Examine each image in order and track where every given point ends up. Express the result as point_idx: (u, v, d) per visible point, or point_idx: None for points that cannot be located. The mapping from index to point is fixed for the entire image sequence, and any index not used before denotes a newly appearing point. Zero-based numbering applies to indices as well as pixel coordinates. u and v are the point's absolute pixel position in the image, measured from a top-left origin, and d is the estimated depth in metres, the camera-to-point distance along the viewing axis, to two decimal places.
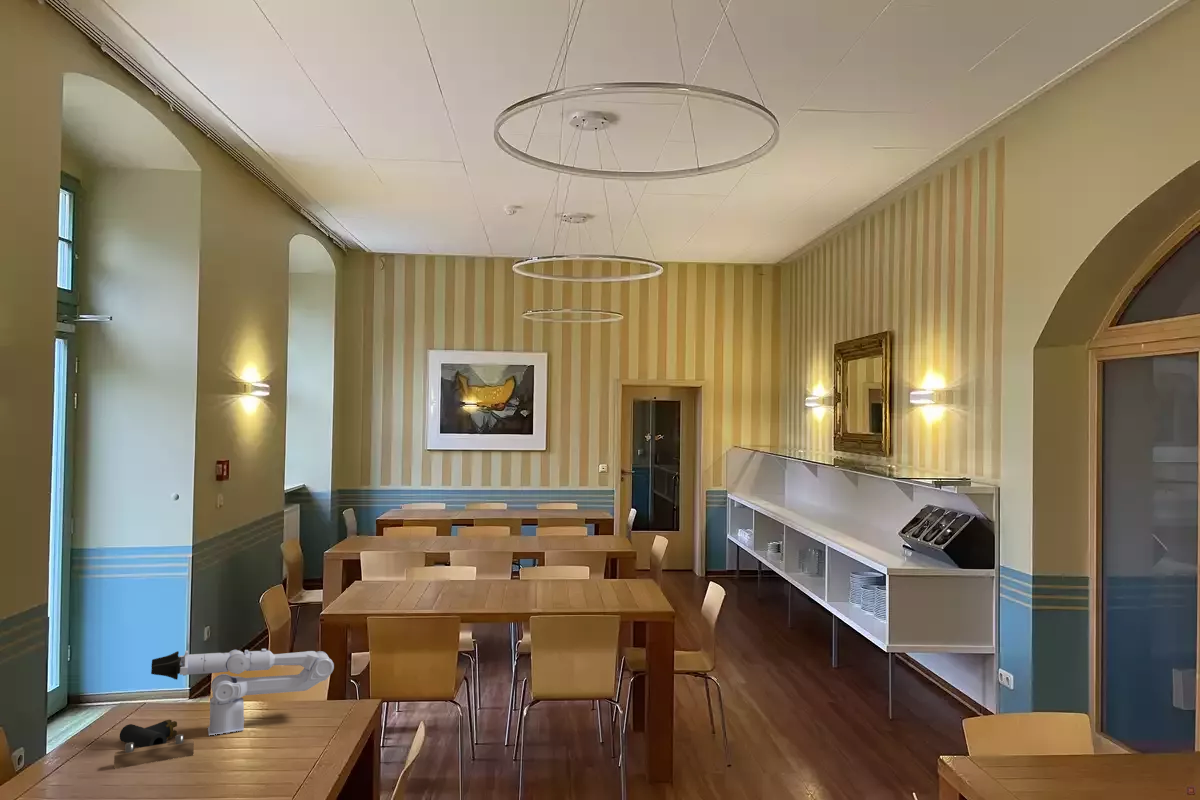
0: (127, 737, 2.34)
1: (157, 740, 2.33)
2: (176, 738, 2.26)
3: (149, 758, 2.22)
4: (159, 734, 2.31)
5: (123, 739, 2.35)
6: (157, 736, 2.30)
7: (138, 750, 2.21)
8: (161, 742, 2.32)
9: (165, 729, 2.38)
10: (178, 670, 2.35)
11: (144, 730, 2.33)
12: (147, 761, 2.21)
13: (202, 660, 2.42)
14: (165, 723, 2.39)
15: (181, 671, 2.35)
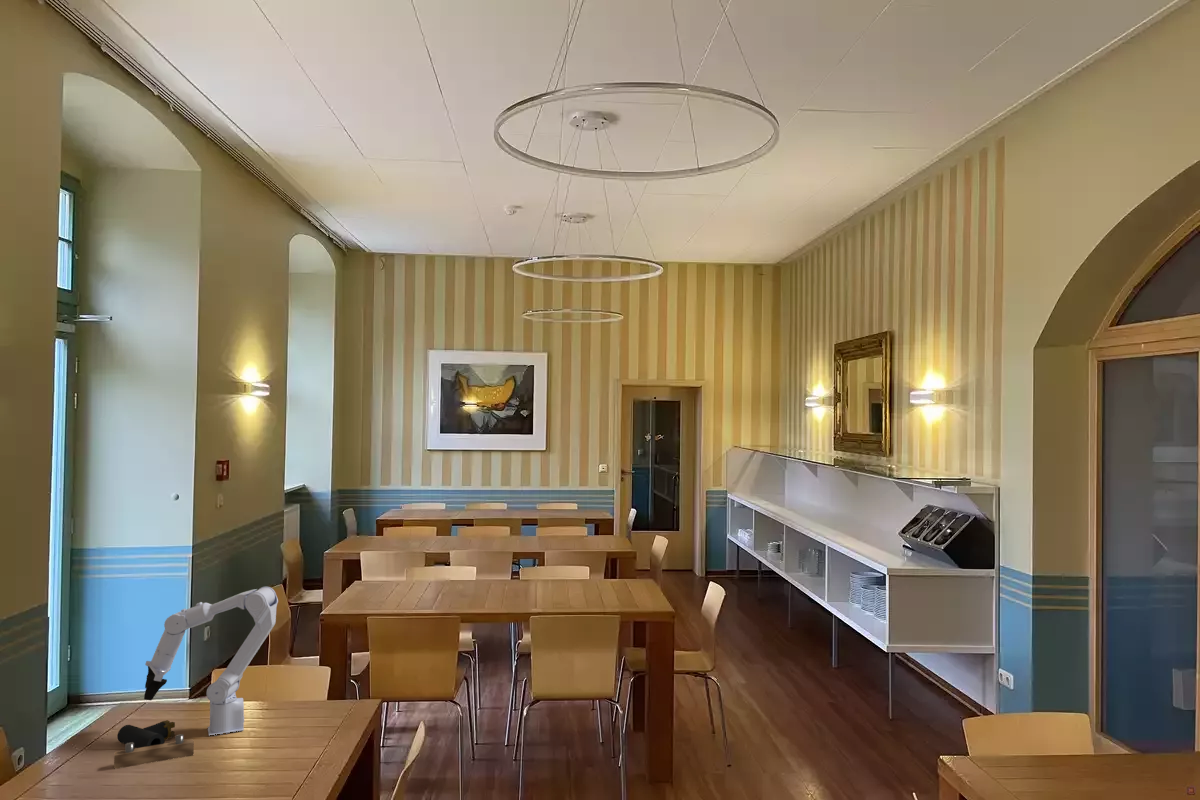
0: (125, 738, 2.33)
1: (155, 741, 2.32)
2: (176, 738, 2.26)
3: (149, 758, 2.22)
4: (156, 735, 2.30)
5: (121, 740, 2.34)
6: (154, 737, 2.30)
7: (138, 750, 2.21)
8: (159, 743, 2.31)
9: (163, 730, 2.37)
10: None
11: (141, 730, 2.33)
12: (147, 761, 2.21)
13: (160, 654, 2.43)
14: (163, 724, 2.38)
15: (158, 679, 2.39)
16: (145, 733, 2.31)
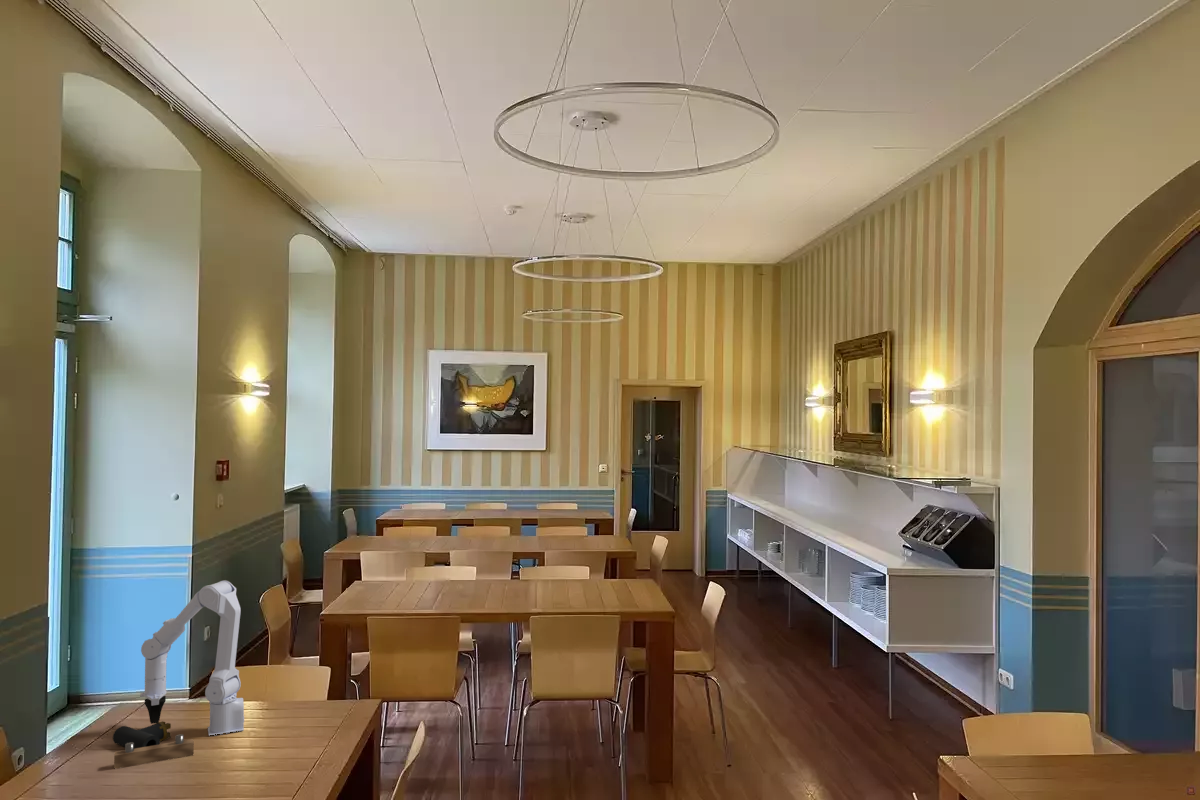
0: (120, 739, 2.32)
1: (150, 742, 2.31)
2: (176, 738, 2.26)
3: (149, 758, 2.22)
4: (152, 736, 2.29)
5: (116, 741, 2.33)
6: (150, 738, 2.29)
7: (138, 750, 2.21)
8: (154, 744, 2.30)
9: (158, 731, 2.36)
10: None
11: (137, 732, 2.32)
12: (147, 761, 2.21)
13: (149, 681, 2.45)
14: (159, 725, 2.37)
15: (155, 703, 2.42)
16: (140, 734, 2.30)
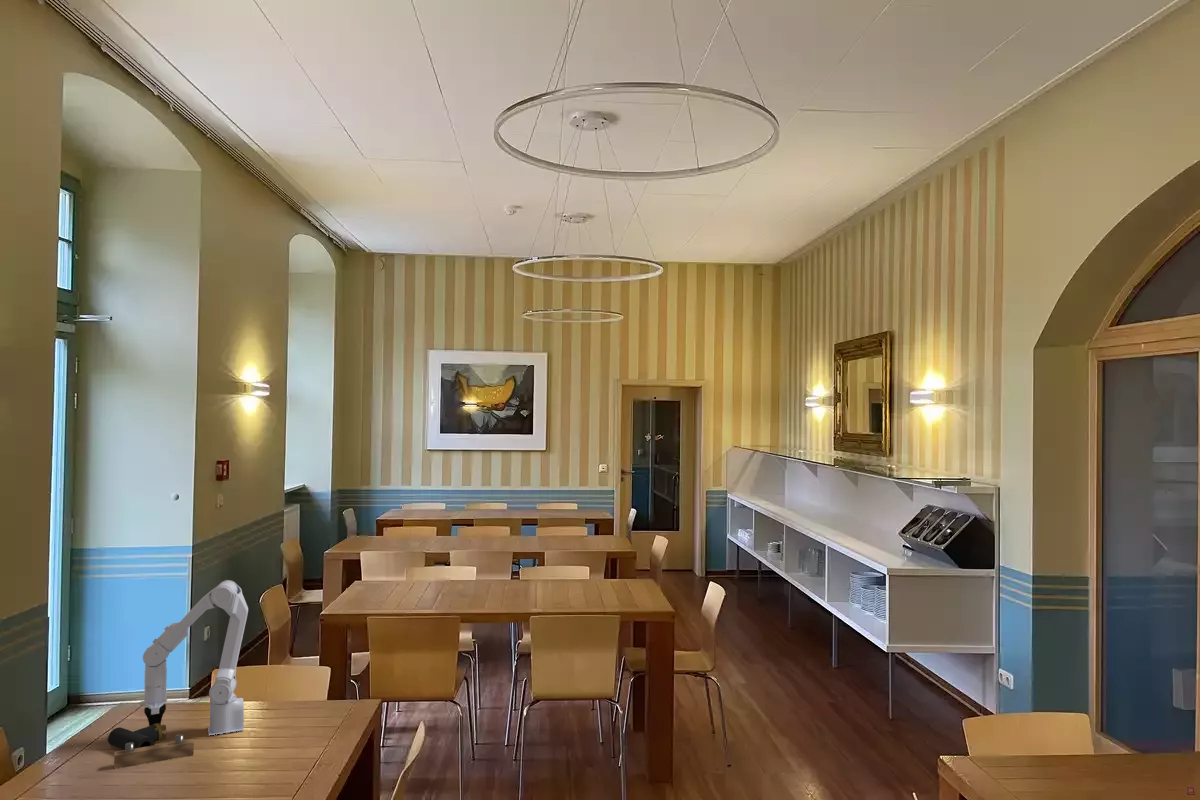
0: (115, 741, 2.31)
1: (145, 744, 2.30)
2: (176, 738, 2.26)
3: (149, 758, 2.22)
4: (146, 738, 2.28)
5: (111, 742, 2.32)
6: (144, 740, 2.27)
7: (138, 750, 2.21)
8: None
9: (154, 733, 2.34)
10: None
11: (131, 733, 2.30)
12: (147, 761, 2.21)
13: (149, 689, 2.39)
14: (154, 727, 2.36)
15: (155, 712, 2.35)
16: (135, 736, 2.29)
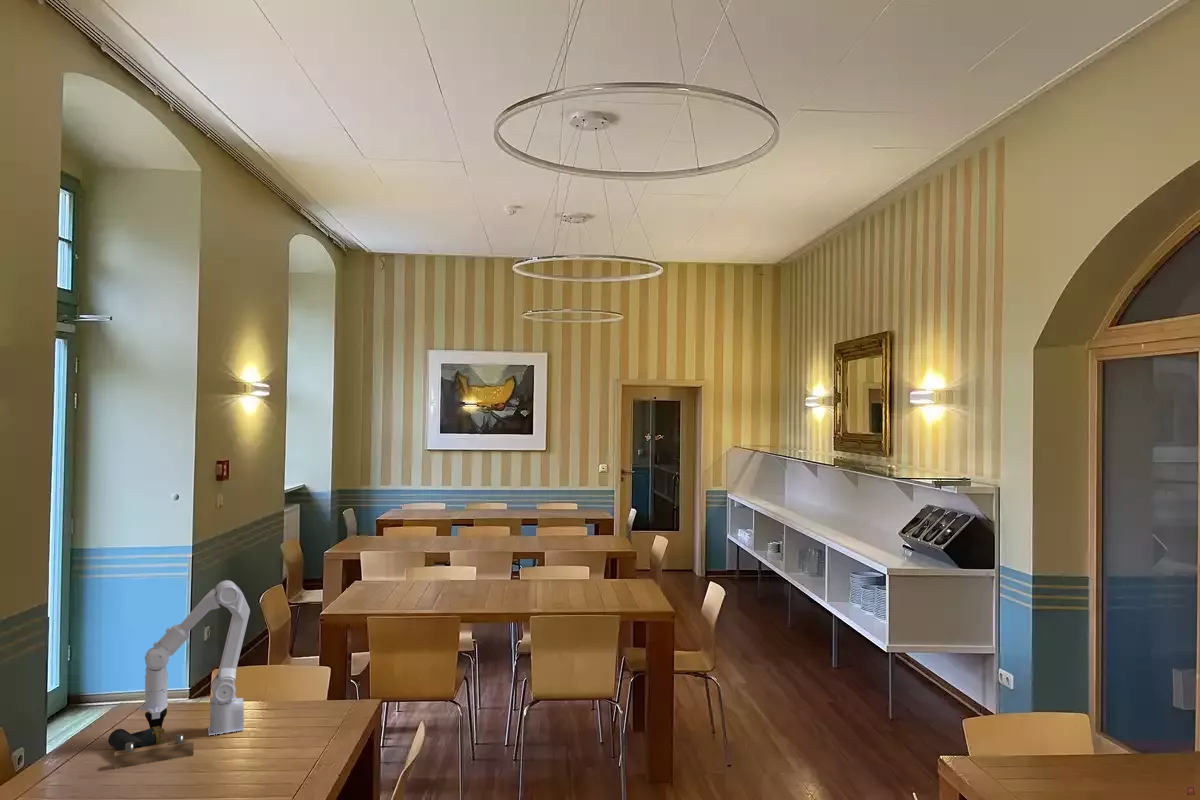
0: (113, 742, 2.29)
1: None
2: (176, 738, 2.26)
3: (149, 758, 2.22)
4: (138, 742, 2.24)
5: (110, 744, 2.31)
6: (136, 744, 2.23)
7: (138, 750, 2.21)
8: None
9: (150, 736, 2.31)
10: None
11: (127, 736, 2.28)
12: (147, 761, 2.21)
13: (150, 693, 2.35)
14: (152, 730, 2.33)
15: (156, 716, 2.31)
16: (129, 739, 2.26)
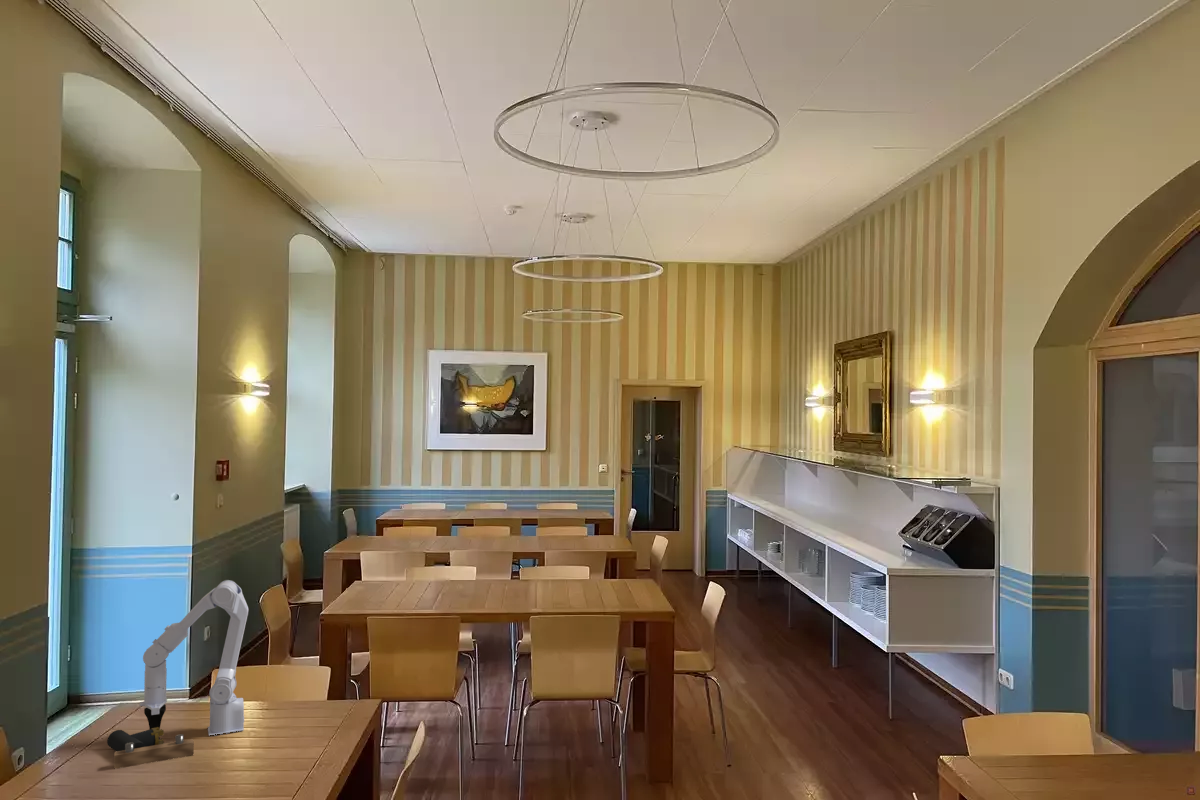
0: (112, 743, 2.29)
1: None
2: (176, 738, 2.26)
3: (149, 758, 2.22)
4: (138, 743, 2.24)
5: (109, 745, 2.30)
6: (136, 745, 2.23)
7: (138, 750, 2.21)
8: None
9: (150, 737, 2.31)
10: None
11: (126, 737, 2.28)
12: (147, 761, 2.21)
13: (149, 690, 2.38)
14: (151, 731, 2.33)
15: (156, 712, 2.35)
16: (128, 740, 2.26)
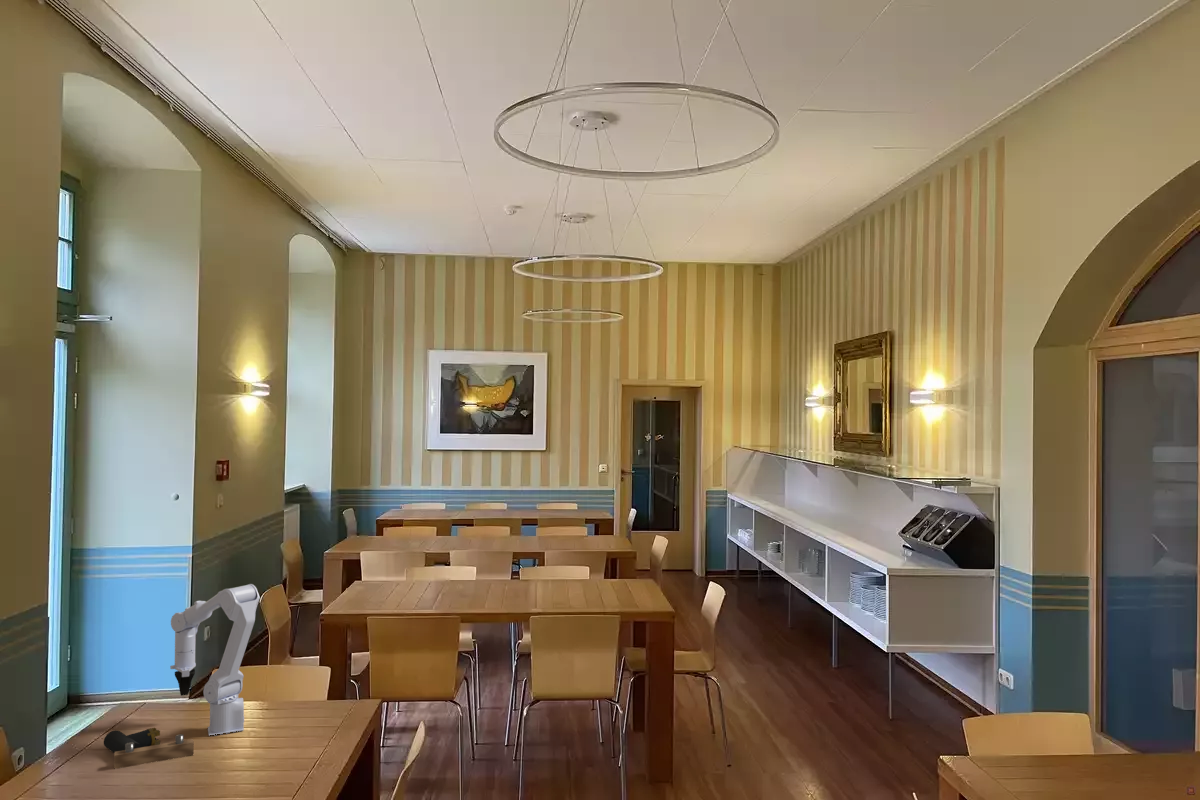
0: (108, 744, 2.29)
1: None
2: (176, 738, 2.26)
3: (149, 758, 2.22)
4: (134, 744, 2.23)
5: (106, 746, 2.30)
6: None
7: (138, 750, 2.21)
8: None
9: (146, 738, 2.31)
10: None
11: (123, 738, 2.27)
12: (147, 761, 2.21)
13: (179, 654, 2.51)
14: (147, 732, 2.32)
15: (186, 674, 2.48)
16: (124, 741, 2.25)
